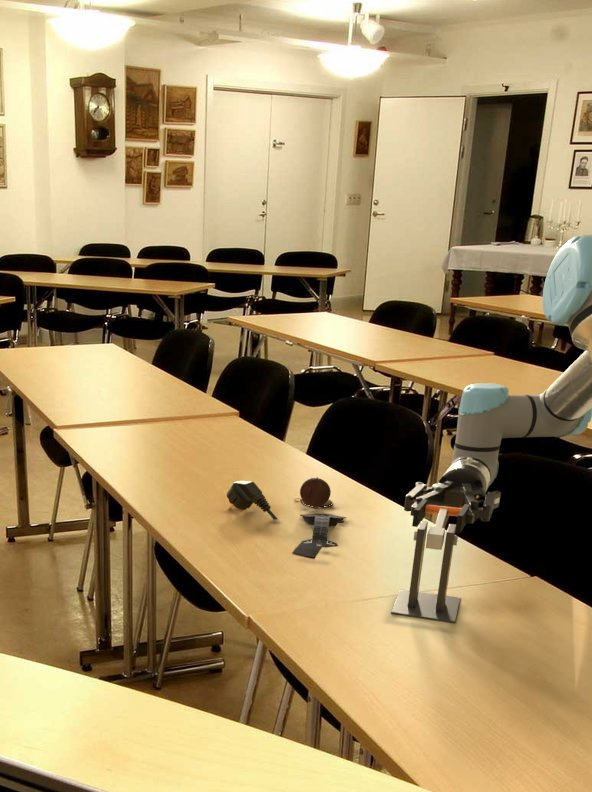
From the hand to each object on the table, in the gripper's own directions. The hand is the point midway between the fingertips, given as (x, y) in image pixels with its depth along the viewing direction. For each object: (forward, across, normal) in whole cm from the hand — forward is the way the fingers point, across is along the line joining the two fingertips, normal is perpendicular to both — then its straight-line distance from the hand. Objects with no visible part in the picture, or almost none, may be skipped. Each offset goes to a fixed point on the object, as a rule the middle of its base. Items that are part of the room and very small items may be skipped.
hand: (437, 521), depth 140 cm
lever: (0, +1, +2) cm, 2 cm away
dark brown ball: (-41, -31, +13) cm, 53 cm away
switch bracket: (+6, +1, +13) cm, 14 cm away
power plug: (-30, -40, +13) cm, 52 cm away
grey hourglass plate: (-21, -24, +13) cm, 34 cm away
